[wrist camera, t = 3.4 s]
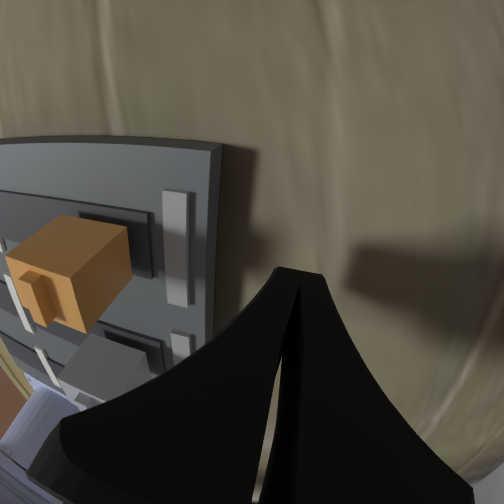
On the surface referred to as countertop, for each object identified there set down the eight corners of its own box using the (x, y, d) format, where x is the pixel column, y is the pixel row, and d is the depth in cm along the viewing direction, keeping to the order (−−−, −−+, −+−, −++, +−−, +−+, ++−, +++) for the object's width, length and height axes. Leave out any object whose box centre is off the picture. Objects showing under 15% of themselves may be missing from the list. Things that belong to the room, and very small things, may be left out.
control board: (211, 434, 19) (206, 451, 18) (24, 357, 21) (16, 368, 20) (222, 143, 10) (207, 153, 8) (-45, 144, 12) (-61, 151, 10)
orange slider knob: (132, 277, 11) (77, 345, 8) (70, 260, 11) (13, 314, 8) (126, 226, 10) (58, 289, 7) (61, 214, 10) (-6, 263, 7)
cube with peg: (151, 378, 14) (121, 436, 11) (99, 359, 14) (66, 410, 11) (145, 352, 13) (109, 415, 10) (90, 332, 13) (50, 386, 10)
